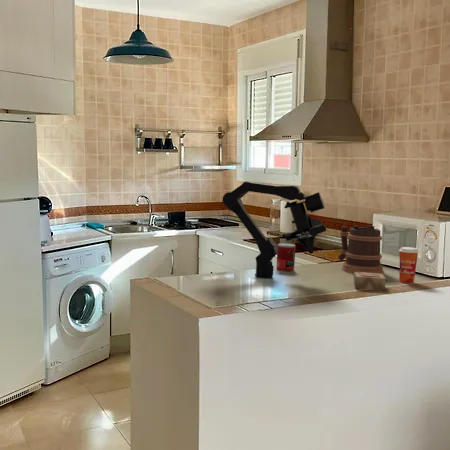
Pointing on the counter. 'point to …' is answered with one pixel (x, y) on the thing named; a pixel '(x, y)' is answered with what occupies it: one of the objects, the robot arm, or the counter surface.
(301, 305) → the counter surface
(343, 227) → the mug
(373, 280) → the wooden box
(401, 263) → the paper cup
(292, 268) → the canned food
